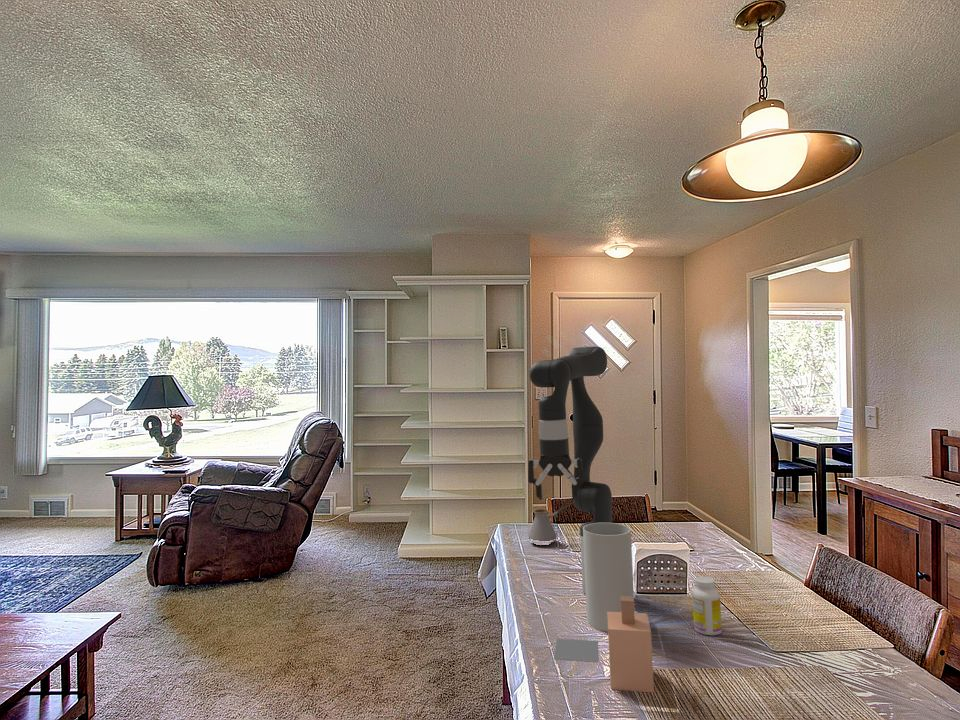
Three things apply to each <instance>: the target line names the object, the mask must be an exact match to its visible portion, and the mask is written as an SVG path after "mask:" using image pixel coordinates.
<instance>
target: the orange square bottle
mask: <svg viewBox="0 0 960 720" xmlns="http://www.w3.org/2000/svg"><path fill="white" fill-rule="evenodd" d="M634 609H635V599H634V600H633V596H621V612H607V619H608V632H607V638H608V639H607V640H608V656H609V657H608V659H609V662H608V663H609V679H610V690H620V691H632V692H642V693H643V692H644V693H655V687H654V686H655V685H654V684H655V683H654V666H653V649H652V648H653V646H652V645H653V643H652V629H651V625H650V621H649V618H648V617H649V616H648V614H647V613H643V612H642V613H641V612H635V613H634Z"/></svg>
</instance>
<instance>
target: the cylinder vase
mask: <svg viewBox="0 0 960 720" xmlns="http://www.w3.org/2000/svg"><path fill="white" fill-rule="evenodd" d="M583 543H584V566H585V589H586V594H585V606H586V607H585V609H586V610H585V611H586V621H587V624H588V625H589V626H590V627H592V628H593V629H596V630H598V631H601V632H606V633H608V619H607V612H621V596H633V600H634V601H635V592H634V591H635V590H634V572H633V571H634V570H633V567H634V566H633V553H632V552H633V549H632V530H631V527H630V526H628V525H625V524H622V523H615V522H612V523H592V524H588V525H585V526H584V527H583ZM634 613H636V611H635V608H634Z"/></svg>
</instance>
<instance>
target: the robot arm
mask: <svg viewBox="0 0 960 720" xmlns="http://www.w3.org/2000/svg"><path fill="white" fill-rule="evenodd" d="M607 367H608V357H607V352H606V351H605V350H604V348H602V347H600V346H581V347H573V348H572V349H571V350H570V352H569V355H566V356H565V355H564V356H561V357H558V358H555V359H547V360H546V359H545V360H538V361H536V362H534V363H533V364H532V366H531V367H530V369H529V379H530V382H531V384H533V385H534V386H535V387H537V388H541V389H543V388H546V389H547V388H554V390H553V392H552V394H551V395H548V396H544V397H541V398H539V400H538V420H539V421H538V422H539V423H538V438H539V439H538V440H539V459H532V458H530V459H529V461H528V469H527V470H528V478H527V479H528V483H529V484H533V485H534V486H535V496H536V498H538V500H539V501H543V487H542V485H543V484H542V482H543V480H544V479H545V478H546V477H547V476H549V477H555V476H556V477H563V476H565V477H566V478H567V479H568V481H569V482H570V483H571V498H572V500H573V502H574V504H573V505H574V507H575V508H576V510H578V511H580V512H583V513H584V512H585V513H591V514H593V520H592V521H587V522H583V524H581V525H580V527H579V534H580V537H579V539H580V541H579V542H580V558H581V562H580V563H581V564H580V565H581V584H582V592H584V593H585V594H584V593H583V594H584V595H586V589H585V566H584V543H583V527H584V526H585V525H588V524H592V523H613V496H612V490H611V488H610V487H609V485H608V484H606V483H602V482H596V481H595V482H594V481H591V478H590V477H591V466H592V463H593V461H594V459H595V457H596V455H597V454H598V452H599V450H600V448H601V446H602V444H603V441H604V421H603V419H604V418H603V416H602V414H601V412H600V410H599V409H598V407H597V406H596V404H595V403H594V401H593V400H592V398H591V397H590V395H589V394H588V392H587V389H586V386H585V377H597V376H601V375H603V374H604V373H606V371H607ZM570 384H571V396H572V431H573V433H572V434H573V450H574V451H573V453H574V454H573V455H574V456H573V457H574V458H573V459H572V458H571V457H570V446H569V445H570V443H569V429H568V427H569V426H568V422H567V410H566V409H567V407H566V401H567V397H568V391H569V385H570ZM572 464H573V474H572V472H571V471H570V470H569V468H570V466H571V465H572ZM537 465H539V467H540V468H541V469H542V472H541V473H540V474H539V476H538V477H537V478H534V477H535V475H534V474H535V473H534V472H535V469H537Z"/></svg>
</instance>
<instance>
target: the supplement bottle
mask: <svg viewBox="0 0 960 720" xmlns="http://www.w3.org/2000/svg"><path fill="white" fill-rule="evenodd" d="M715 582H716V581H715V579H714V578H712V577H710V576H703V575H702V576H701V575H700V576H696V577H695V578H694V584H695V585H696V586H694V588H692V590H691V599H692V600H691V601H692V604H691V605H692V616H693V617H692V618H693V619H692V620H693V628H694V630H695V631H696V632H697V633H700V634H702V635H704V636H718V635H720V634H722V631H723V626H722V625H723V624H722V623H723V622H722V610H721V596H720V592H719V591H718V590H717V589H716V588H715V586H716V583H715Z"/></svg>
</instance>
